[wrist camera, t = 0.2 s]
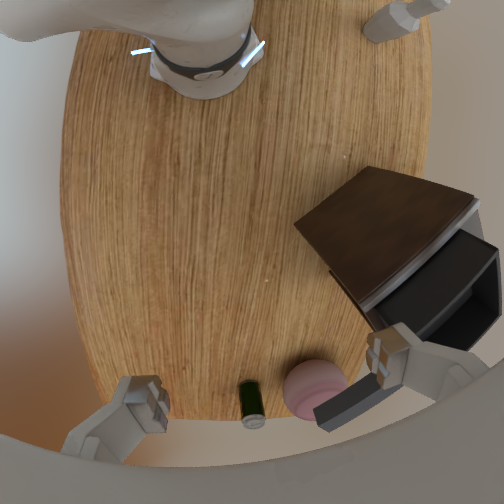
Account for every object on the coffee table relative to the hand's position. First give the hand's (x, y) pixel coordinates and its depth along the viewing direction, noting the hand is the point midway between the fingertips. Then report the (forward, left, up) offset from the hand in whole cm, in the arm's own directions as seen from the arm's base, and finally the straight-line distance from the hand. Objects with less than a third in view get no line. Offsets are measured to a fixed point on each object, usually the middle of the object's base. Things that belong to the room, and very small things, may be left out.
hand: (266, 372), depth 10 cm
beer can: (+47, -5, -39) cm, 61 cm away
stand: (+10, +21, -39) cm, 45 cm away
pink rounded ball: (+45, +10, -39) cm, 60 cm away
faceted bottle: (-28, +32, -39) cm, 58 cm away
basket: (+13, +15, -13) cm, 23 cm away
